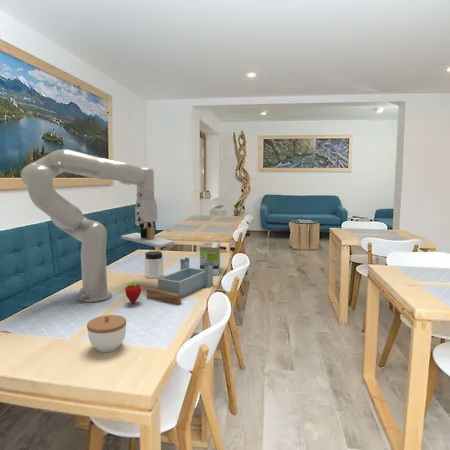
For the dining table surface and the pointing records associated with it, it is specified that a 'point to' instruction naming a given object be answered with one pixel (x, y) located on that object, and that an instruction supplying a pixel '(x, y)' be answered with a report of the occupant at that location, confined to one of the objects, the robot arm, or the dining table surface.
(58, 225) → the robot arm
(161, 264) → the jar
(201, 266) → the tea box
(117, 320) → the lidded jar
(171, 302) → the brown block
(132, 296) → the strawberry
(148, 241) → the lid
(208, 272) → the toolbox
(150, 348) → the dining table surface
